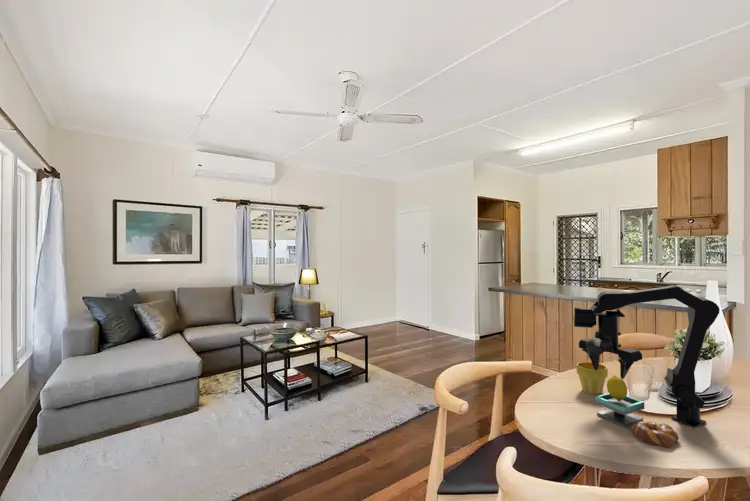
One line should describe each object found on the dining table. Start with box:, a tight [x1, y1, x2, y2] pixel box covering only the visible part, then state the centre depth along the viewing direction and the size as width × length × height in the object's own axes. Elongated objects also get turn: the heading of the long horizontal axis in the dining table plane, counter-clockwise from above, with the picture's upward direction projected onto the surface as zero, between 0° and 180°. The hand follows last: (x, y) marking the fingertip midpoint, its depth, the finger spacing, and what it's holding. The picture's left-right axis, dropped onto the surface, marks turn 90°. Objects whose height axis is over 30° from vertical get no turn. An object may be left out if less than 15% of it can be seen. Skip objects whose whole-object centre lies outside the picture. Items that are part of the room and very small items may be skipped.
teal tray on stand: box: [594, 392, 645, 428], centre depth 118 cm, size 10×10×6 cm
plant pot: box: [575, 361, 609, 395], centre depth 140 cm, size 10×10×10 cm
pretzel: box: [631, 420, 680, 448], centre depth 107 cm, size 12×11×4 cm
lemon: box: [606, 375, 628, 401], centre depth 119 cm, size 6×6×8 cm
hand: (608, 374), depth 124 cm, fingers open, 9 cm apart
